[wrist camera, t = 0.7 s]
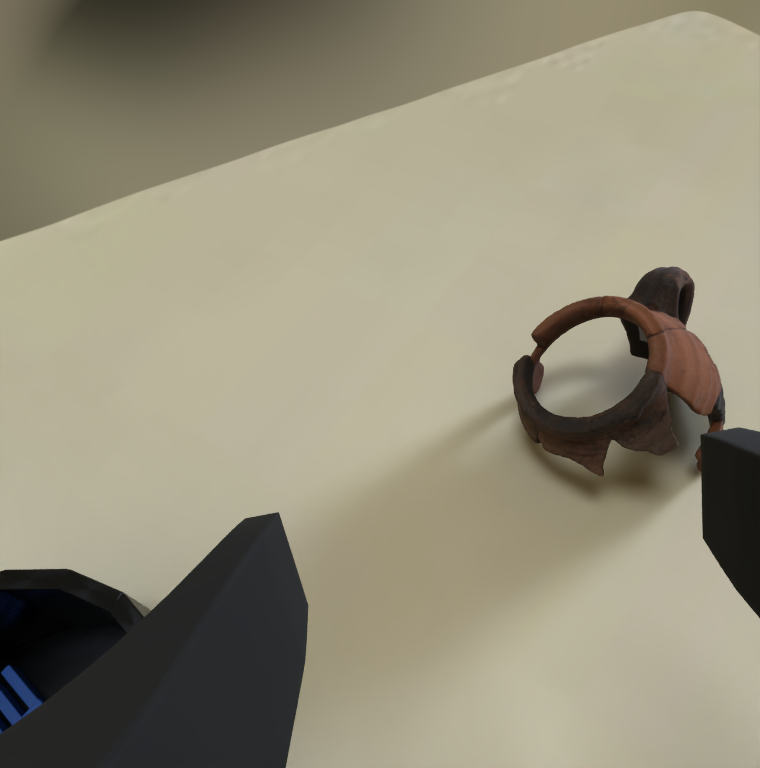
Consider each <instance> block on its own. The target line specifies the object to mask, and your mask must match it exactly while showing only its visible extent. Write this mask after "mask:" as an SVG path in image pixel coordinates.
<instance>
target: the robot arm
mask: <svg viewBox="0 0 760 768" xmlns="http://www.w3.org/2000/svg"><path fill="white" fill-rule="evenodd" d="M701 478H702V523H703V539H704V541H705V542H706V544H707V545H708V547H709V549H710V550H711V552H712V553H713V555H714V557H715V558H716V560H717V561H718V563H719V565H720V566H721V568H722V569H723V571H724V572H725V574H726V575H727V577H728V578H729V580H730V581H731V583H732V584H733V585H734V587H735V588H736V590H737V591H738V592H739V594H740V595H741V596H742V597H743V599H744V600H745V601H746V602H747V603H748V605H749V606H750V607H751V608H752V609H753V611H754V612H755V613H756V614H757V615H758V616H759V618H760V432H758V431H754V430H749V429H744V428H733V429H728V430H723V431H717V432H712V433H706V434H701ZM307 622H308V603H307V600H306V597H305V594H304V590H303V587H302V584H301V581H300V578H299V575H298V572H297V568H296V565H295V562H294V559H293V556H292V553H291V549H290V546H289V543H288V540H287V537H286V534H285V531H284V527H283V524H282V521H281V518H280V515H279V512H278V513H272V514H267V515H261V516H256V517H251V518H245V519H244V520H243V521H242V522H241V523H239V524H238V525H237V526H236V527H235V528H234V529H233V530H232V531H231V532H230V533H229V534H228V535H227V536H226V537H225V538H224V539H223V540H222V541H221V542H220V543H219V544H218V545H217V546H216V547H215V548H214V549H213V550H212V551H211V552H210V553H209V554H208V555H207V556H206V557H205V558H204V559H203V560H202V561H201V562H200V563H199V564H198V565H197V566H196V567H195V568H194V569H193V570H192V571H191V572H190V573H189V574H188V575H187V576H186V577H185V578H184V580H183V581H182V582H181V583H180V584H179V585H178V586H177V587H176V588H175V589H174V590H173V591H172V592H171V593H170V594H169V595H168V596H167V597H165V598H164V599H163V600H162V601H161V602H160V603H159V604H158V605H157V606H156V607H155V608H154V609H153V610H152V611H151V612H149V613H148V614H147V615H146V616H145V617H144V618H143V619H142V620H141V621H140V622H139V623H138V624H137V625H136V626H134V627H133V628H132V629H131V630H130V631H129V632H128V633H127V634H126V635H125V636H124V637H123V638H122V639H121V640H120V641H118V642H117V643H116V644H115V645H114V646H113V647H112V648H110V649H109V650H108V651H107V652H106V653H105V654H103V655H102V656H101V657H100V658H99V659H98V660H96V661H95V662H94V663H93V664H92V665H90V666H89V667H88V668H87V669H86V670H84V671H83V672H82V673H81V674H79V675H78V676H77V677H76V678H74V679H73V680H72V681H71V682H69V683H68V684H67V685H66V686H64V687H63V688H62V689H61V690H59V691H58V692H57V693H56V694H54V695H53V696H52V697H50V698H49V699H48V700H47V701H45V702H44V703H43V704H41V705H40V706H39V707H37V708H36V709H34V710H33V711H32V712H30V713H29V714H27V715H26V716H25V717H23V718H22V719H20V720H19V721H18V722H16V723H15V724H13V725H12V726H11V727H9V728H8V729H6V730H5V731H4V732H2V733H1V734H0V768H285V767H286V762H287V757H288V752H289V746H290V741H291V736H292V730H293V725H294V720H295V715H296V709H297V704H298V698H299V693H300V687H301V682H302V676H303V671H304V665H305V656H306V641H307Z"/></svg>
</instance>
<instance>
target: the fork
mask: <svg viewBox="0 0 760 768" xmlns="http://www.w3.org/2000/svg"><path fill="white" fill-rule="evenodd" d="M1 674H2V675H3V677H4V678H5V679H6V680H7V682H8V683H9V684H10V685H11V686H12V688H13V689H14V690H15V691H16V693H17V694H18V695H19V696H20V698H21V699H22V700H23V701H24V702H25V704H26V705H27V706H28V707H29V710H28V711H27V712H25V711H24V710H23V708H22V707H21V706H20V705H19V703H18V702H17V701H16V700H15V698H14V697H13V696H12V695H11V693H10V692H9V691H8V690H7V688H6V687H5V686H4V685H3V684H2V683H0V710H1V712H2V713H3V714H4V715H5V717H6V718H7V719H8V721H9V722H10V723H11V724H12V725H13V724H15V723H16V722H18V721H19V720H20V719H22V718H23V717H25V716H26V715H27V714H29V713H30V712H32V711H33V710H34V709H36V708H37V707H39V706H40V705H41V704H43V703H44V702H45V701H46V700H45V699H44V698H43V697H42V695H41V694H40V693H39V692H38V691H37V690H36V688H35V687H34V686H33V685H32V684H31V682H30V681H29V680H28V679H27V678H26V676H25V675H24V674H23V673H22V672H21V670H20V669H19V668H18V667H15V666H12V665H8V666H7V667H6V668H5V669H4V670H3V671H2V672H1ZM6 729H8V727H7V726H6V725H5V723H4V722H3V721H2V719H1V718H0V734H1V733H2V732H4V731H5V730H6Z"/></svg>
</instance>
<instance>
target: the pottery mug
mask: <svg viewBox="0 0 760 768" xmlns="http://www.w3.org/2000/svg"><path fill="white" fill-rule="evenodd" d="M693 298H694V282H693V280H692V279H691V278H690V276H689V274H688V273H687V272H685V271H683V270H682V269H680V268H679V267H669V268H666V267H660V268H656V269H654V270H652V271H650V272H648V273H647V274H645V275H644V276H643V277H642V278H641V280H640V281H639V282H638V284H637V285H636V287H635V289H634V291H633V293H632V294H631V296H630V297H628V298H627V299H626V298H622V297H616V296H604V297H594V298H588V299H585V300H581V301H577V302H575V303H572V304H570V305H567V306H565V307H563V308H562V309H560V310H559V311H556V312H555V313H553V314H552V315H550V316H549V317H548V318H546V319H545V320H544V321H543V322H542V323H541V324H540V325H538V326H537V328H536V329H535V330H534V331H533V333H532V334H531V336H532V338H533V339H534V341H535V342H536V343H537V347H536V349H535V350H534V352H533V353H532V355H531V356H528V355H525V356H523V357H522V358H521V359H520V360H518V361H517V362H516V363H515V365H514V368H513V385H514V394H515V397H516V400H517V403H518V410H519V415H520V419H521V422H522V424H523V426H524V428H525V430H526V431H527V433H528V435H529V436H530V438H531V439H532V440H533V441H534V442H535V443H537V444H539V443H541V444H542V446H543V448H544V449H545V450H546V451H548V452H550V453H552V454H555V455H559V456H562V457H566V458H569V459H571V460H573V461H575V462H577V463H579V464H581V465H583V466H584V467H585V468H586V469H588V470H589V471H591V472H593V473H595V474H597V475H599V476H603V475H604V470H603V463H604V460H605V458H606V454H607V450H608V447H609V444H610V442H611V440H615V441H616V442H618V443H619V444H620V445H621V446H623V447H624V448H628V449H631V450H634V451H648V452H650V453H653V454H655V455H664V454H666V453H668V452H669V451H672V450H673V449H675V448H676V447H677V446H678V444H679V443H678V440H677V439H676V437H675V435H674V433H673V431H672V430H671V427H672V419H671V414H670V411H669V404H668V398H667V391H668V392H671V393H673V394H675V395H677V396H678V397H679V398H681V399H682V400H683V401H684V402H685V403H686V404H687V405H688V406H689V407H690V409H691V410H692V411H694V412H695V413H697V414H699V415H703V416H706V415H707V416H708V419H709V423H710V428H709V430H708V433H712V432H717V431H723V425H724V423H725V400H724V397H723V388H722V385H721V380H720V376H719V372H718V370H717V367H716V365H715V364H714V363H713V361H712V359H711V357H710V355H709V354H708V351H707V349H706V347H705V346H704V344H703V343H702V342H701V341H700V340H699V339H698V337H697V336H696V335H695V334H693V333H692V332H689V331H687V330H686V323H687V321H688V318H689V315H690V312H691V307H692V303H693ZM601 317H617V318H620V319H621V322H622V324H623V326H624V328H625V330H626V332H627V336H628V340H629V344H630V352H631V354H632V355H633V356H636V357H641V358H645V359H648V362H647V366H646V371H645V375H644V376H643V377H642V379H641V380H640V382H639V383H638V385H637V386H636V388H635V389H634V390H633V391H632V392H631V393H630V394H629V395H628V396H627V397H626V398H625V399H623V400H622V401H621V402H619V403H618V404H616V405H615V406H613V407H612V408H610V409H608V410H605V411H604V412H602V413H598V414H596V415H593V416H590V417H579V418H576V417H562V416H558V415H554V414H552V413H550V412H549V411H547V410H546V409H544V408H543V407H542V406H541V405H540V404H539V402H538V401H537V399H536V397H535V395H534V394H536V393H537V392H538V390H539V388H540V385H541V382H542V378H543V374H544V366H543V365H542V364H541V363H540V357H541V356H542V354H543V353H544V352H545V351H546V350H547V348H548V347H549V346H550V345H551V344H552V343H553V342H554V341H555V340H556V339H558V338H559V337H560V336H561V335H562V334H564V333H566V332H567V331H568V330H570V329H571V328H573V327H575V326H577V325H579V324H581V323H584V322H586V321H589V320H592V319H596V318H601ZM695 456H696V458H697V460H698V463H697V468H698V470H699V471H701V446H700V447H699V449H698V450H697V452H696V454H695Z"/></svg>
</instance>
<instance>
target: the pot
mask: <svg viewBox="0 0 760 768" xmlns="http://www.w3.org/2000/svg"><path fill="white" fill-rule="evenodd" d="M149 612H151V610H149V609H148V608H146V607H145V606H143V605H142V604H140V603H139V602H137V601H136V600H134V599H133V598H131V597H129V596H128V595H126V594H125V593H123V592H121V591H119V590H117V589H114V588H112V587H110V586H107V585H105V584H103V583H100V582H98V581H96V580H93V579H91V578H89V577H86V576H84V575H82V574H79V573H77V572H75V571H72V570H69V569H33V570H4V571H0V683H2V684H3V685H4V686H5V687H6V688H7V690H8V691H9V692H10V693H11V695H12V696H13V697H14V698H15V700H16V701H17V702H18V703H19V705H20V706H21V707H22V708H23V710H24V711H25V712H27V711H28V710H29V707H28V706H27V705H26V704H25V702H24V701H23V700H22V699H21V698H20V696H19V695H18V694H17V693H16V691H15V690H14V689H13V688H12V686H11V685H10V684H9V683H8V682H7V680H6V679H5V678H4V677H3V675H2V674H1V672H2V671H3V670H4V669H5V668H6V667H7V666H8V665H12V666H15V667H18V668H19V669H20V670H21V672H22V673H23V674H24V675H25V676H26V678H27V679H28V680H29V681H30V682H31V684H32V685H33V686H34V687H35V688H36V690H37V691H38V692H39V693H40V694H41V695H42V697H43V698H44V699H45V700H46V701H47V700H48V699H49V698H50V697H52V696H53V695H54V694H56V693H57V692H58V691H59V690H61V689H62V688H63V687H64V686H66V685H67V684H68V683H69V682H71V681H72V680H73V679H74V678H76V677H77V676H78V675H79V674H81V673H82V672H83V671H84V670H86V669H87V668H88V667H89V666H90V665H92V664H93V663H94V662H95V661H96V660H98V659H99V658H100V657H101V656H102V655H103V654H105V653H106V652H107V651H108V650H109V649H110V648H112V647H113V646H114V645H115V644H116V643H117V642H118V641H120V640H121V639H122V638H123V637H124V636H125V635H126V634H127V633H128V632H129V631H130V630H131V629H132V628H133V627H134V626H136V625H137V624H138V623H139V622H140V621H141V620H142V619H143V618H144V617H145V616H146V615H147V614H148V613H149ZM0 718H1V719H2V721H3V722H4V723H5V725H6V726H7V727H8V728H9V727H11V726H12V724H11V723H10V722H9V721H8V719H7V718H6V717H5V715H4V714H3V713H2V712H1V710H0Z"/></svg>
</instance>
